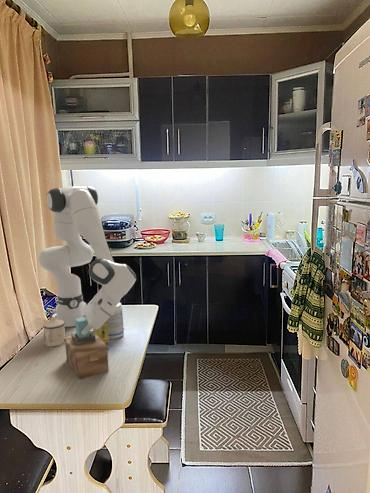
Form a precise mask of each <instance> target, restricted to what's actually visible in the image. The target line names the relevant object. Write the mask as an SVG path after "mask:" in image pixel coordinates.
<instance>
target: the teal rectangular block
mask: <svg viewBox="0 0 370 493" xmlns="http://www.w3.org/2000/svg"><path fill="white" fill-rule="evenodd" d="M75 322H76V326H75V331H76V332H75V333H77V338H78V339H81V338H85V337H90V331H91V330H90V331H89V332H87V334H86V335H83V334H82V333H81V331H82V329H83V328H85V327H86V326H87V324H88V321H87V318H86V317H82V318H77V319H75Z"/></svg>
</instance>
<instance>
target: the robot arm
mask: <svg viewBox="0 0 370 493" xmlns="http://www.w3.org/2000/svg"><path fill="white" fill-rule="evenodd" d="M98 202H99V196H98V192H97V190H96V189H95V188H94V187H93V186H90V185H85V186H83V185H82V186H81V185H71V186H64V187H59V188H58V187H55V188H52V189H50V190H48V192H47V194H46V205H47V207H48V210H50V211H51V212H53V214H54V215H53V216H54V217H53V218H54V219H53V222H54V223H53V225H54V227H53V228H54V230H53V231H54V233H53V234H54V235H55V236H56V238H58V239H59V240H62V241H64V242H66V244H64V245H56V246H55V245H54V246H50V247H47V248H44V249H42V250H41V251H40V253H39V255H38V262H39V264H40V266H41V267H42V268H43V269H44V270H46V271H47V272H49V273H51V275H52V277H54V280H55V283H56V287H57V303H56V306H55V308H53V309H52V315H51V318H52V317H56V319H60V320H63V321H64V322H65V324H64V327H65V328H71V327H76V322H75V319H77V318H82V317H86V318H87V321H88V324H87V326H86V327H85V328H83V329H82V331H81V333H82V334H83V335H86V334H87V332H89V331H93V329H94V330H98V329H99V328H100V327H101V326H102V325H103V324H104V323H105V322H106V321H107V320H108V319H109V317H110V315H111V316H113V314H114V313H115V309H116V305H117V304H118V303H119V302H120V301H121V299H122V298H123V297H124V296H126V295H127V293H128V292H129V291H130V290H131V288H132V287H133V286H134V284H135V283H136V281H137V274H136V273H135V272H134V270H133V269H132V268H131V267H130V266H129V265H128V264H126V263H117V262H115V260H114V258H113V255H112V252H111V250H110V247H109V243H108V242H107V239H106V234H105V231H104V228H103V223H102V219H101V216H100V213H99V209H98V207H97V205H98ZM82 238H83V239H84V240H86V242H85V241H84V240H83V239H82ZM94 254H95V258H96V259H95V260H93V257H94ZM92 260H93V261H92ZM89 263H90V265H89V266H88V275H89V277H90V278H91V279H92V280H93V281H94V282H95V283H98V285H101V287H100V289H98V291H97V293H96V294H95V295H94V296H93V298H92V299H91V300H90V301H89V302H88V303H87V302H85V301H84V298H83V297H84V295H83V292H82V284H81V282H82V281H81V278H80V277H79V276H78V275H76V274H74V273H71V272H68V268H74V267H80V266H84V265H87V264H89ZM120 303H121V302H120Z"/></svg>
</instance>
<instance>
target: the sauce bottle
mask: <svg viewBox="0 0 370 493" xmlns="http://www.w3.org/2000/svg"><path fill="white" fill-rule="evenodd" d="M92 331H93V332H94V333H95V334H96V335H97V336H98V337H99V338H100V339H101V340H102V341H103V342H104V343H105V344H106V345H107V346H108V345H109V339H108V324H107V321H106V322H105V323H104V324H103V325H102V326H101V327H100V328H99V329H98V330H94V329H93V328H92Z"/></svg>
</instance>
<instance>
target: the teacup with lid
mask: <svg viewBox="0 0 370 493" xmlns="http://www.w3.org/2000/svg"><path fill="white" fill-rule="evenodd" d="M42 324H43V325H42V327H43V334H44V344H45V345H46V346H47V347H58V346H61V345H63V344H65V341H64V338H63V337H66V327H64V324H65V322H64V321H63V320H60V319H56V317H52V316H51V317H50V319H49V320H47V321H45V322H43V323H42Z"/></svg>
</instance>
